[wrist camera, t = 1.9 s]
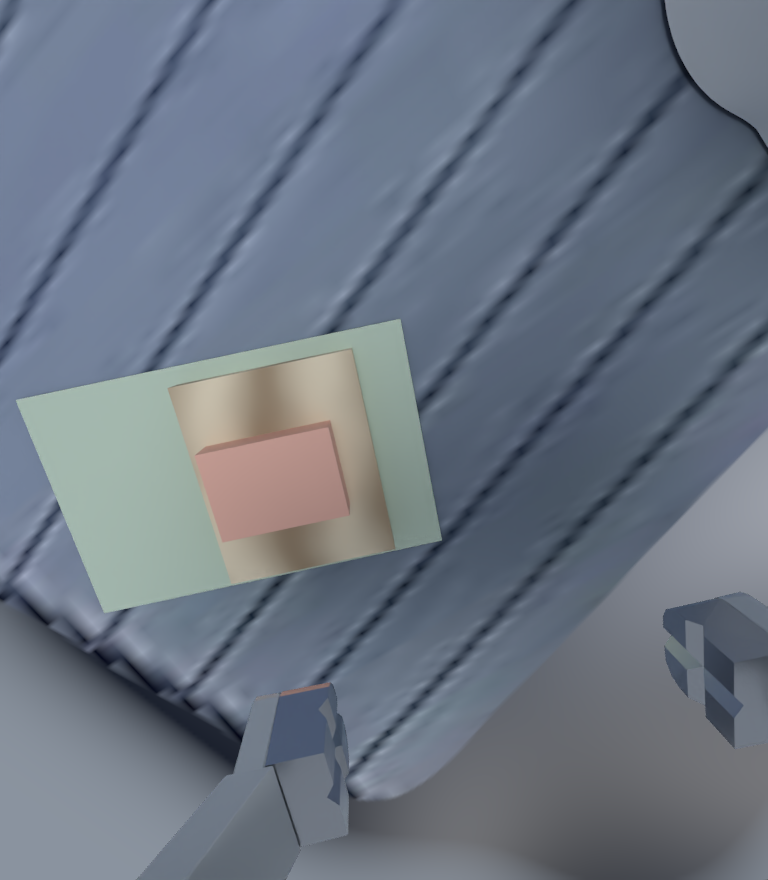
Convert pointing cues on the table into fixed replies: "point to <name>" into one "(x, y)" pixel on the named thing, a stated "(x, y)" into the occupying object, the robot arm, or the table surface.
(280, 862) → the robot arm
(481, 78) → the table surface
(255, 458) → the tile
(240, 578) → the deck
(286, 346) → the mat
